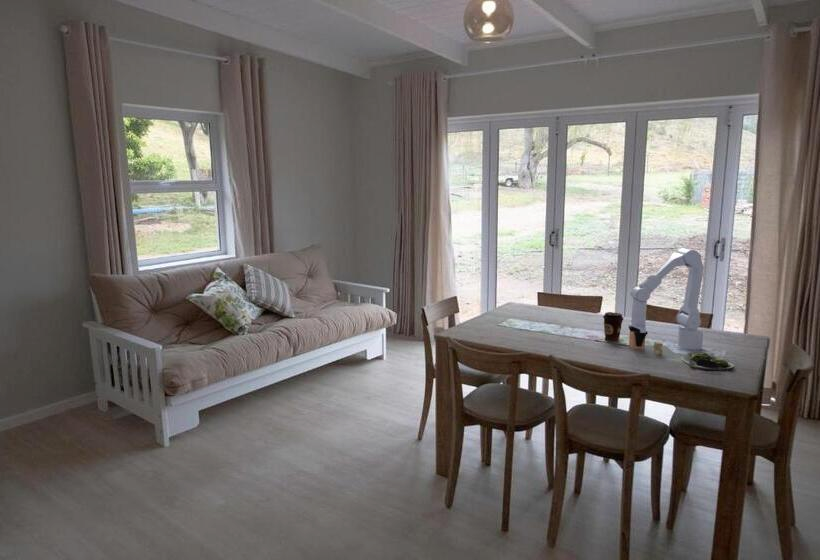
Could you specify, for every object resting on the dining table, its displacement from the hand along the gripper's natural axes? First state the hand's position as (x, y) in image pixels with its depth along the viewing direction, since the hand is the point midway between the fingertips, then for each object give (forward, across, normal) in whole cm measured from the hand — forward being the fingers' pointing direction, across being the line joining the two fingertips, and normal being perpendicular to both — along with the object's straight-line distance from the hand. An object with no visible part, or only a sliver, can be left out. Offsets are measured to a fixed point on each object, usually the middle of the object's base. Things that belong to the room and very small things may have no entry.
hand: (636, 344), depth 243 cm
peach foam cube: (+1, 0, 0) cm, 1 cm away
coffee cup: (+2, -11, -8) cm, 14 cm away
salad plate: (+2, +21, +21) cm, 30 cm away
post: (+1, +9, +6) cm, 11 cm away
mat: (+2, +5, +5) cm, 7 cm away
